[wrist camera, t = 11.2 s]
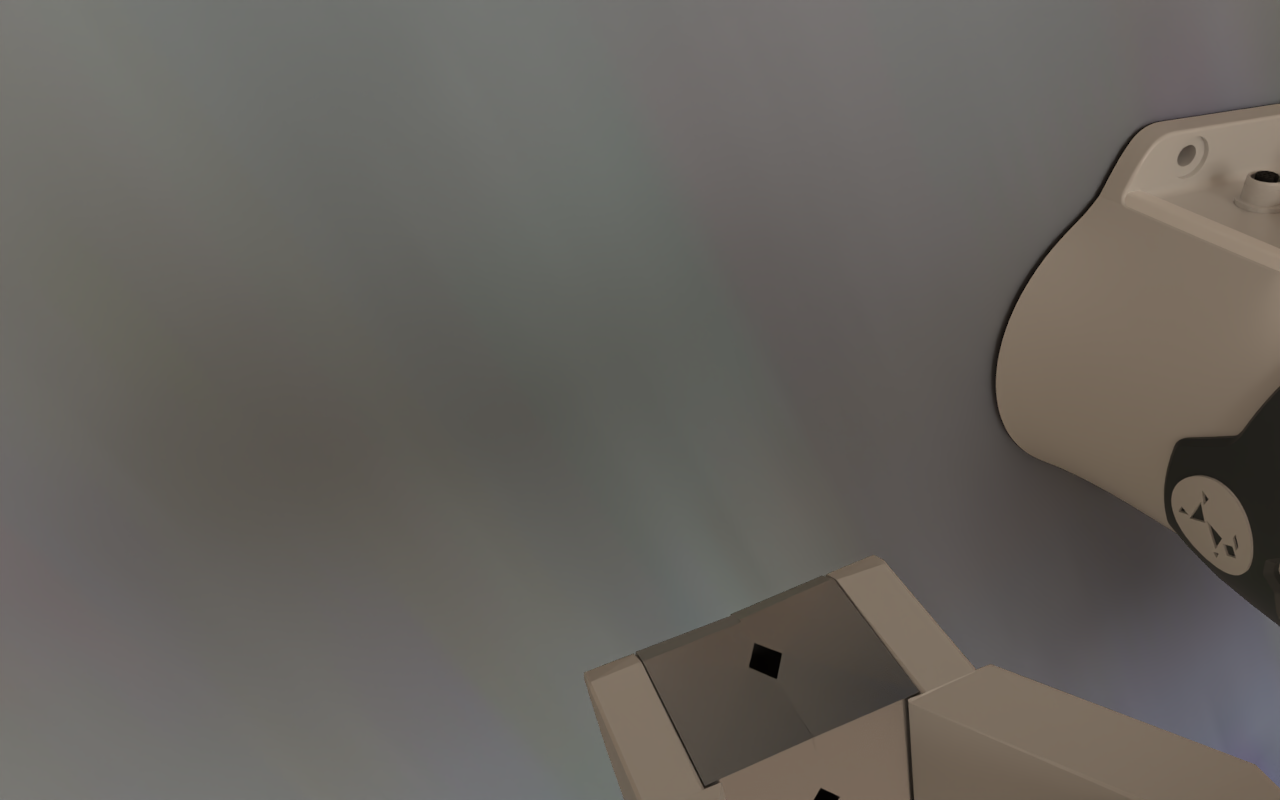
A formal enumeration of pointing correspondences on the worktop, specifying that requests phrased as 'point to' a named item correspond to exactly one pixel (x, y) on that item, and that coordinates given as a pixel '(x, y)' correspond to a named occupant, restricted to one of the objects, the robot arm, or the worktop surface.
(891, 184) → the worktop surface
